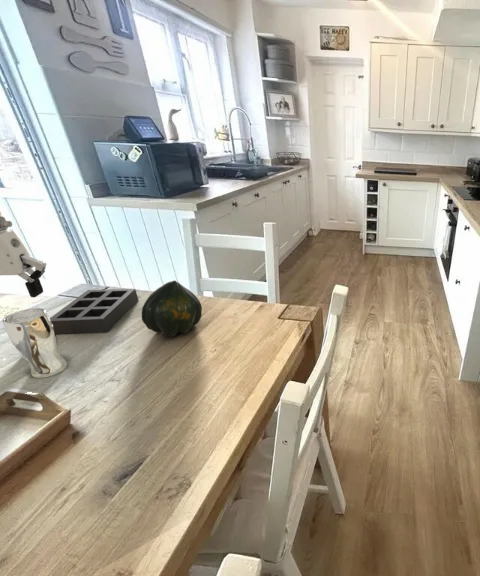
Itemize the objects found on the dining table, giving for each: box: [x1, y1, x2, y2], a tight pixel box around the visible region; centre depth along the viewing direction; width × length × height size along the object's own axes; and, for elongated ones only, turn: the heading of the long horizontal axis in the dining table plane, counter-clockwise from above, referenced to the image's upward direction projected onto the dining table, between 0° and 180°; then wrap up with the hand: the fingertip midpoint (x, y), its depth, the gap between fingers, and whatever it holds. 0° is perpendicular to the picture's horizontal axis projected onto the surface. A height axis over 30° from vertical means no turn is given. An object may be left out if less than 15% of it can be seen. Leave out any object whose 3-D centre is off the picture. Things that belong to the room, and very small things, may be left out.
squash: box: [141, 280, 203, 338], centre depth 93 cm, size 14×15×15 cm
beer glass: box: [2, 307, 68, 379], centre depth 74 cm, size 7×7×15 cm
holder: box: [49, 288, 140, 336], centre depth 97 cm, size 13×19×4 cm
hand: (12, 295), depth 77 cm, fingers open, 9 cm apart
